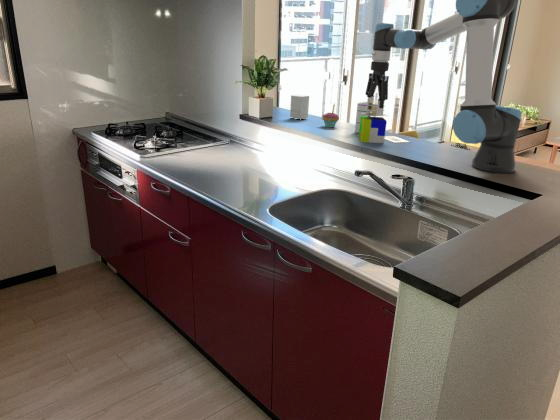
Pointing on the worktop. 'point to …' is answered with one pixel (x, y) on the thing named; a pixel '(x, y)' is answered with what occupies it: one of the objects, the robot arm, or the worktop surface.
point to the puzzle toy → (372, 129)
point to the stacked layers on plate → (372, 109)
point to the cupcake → (330, 118)
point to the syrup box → (360, 114)
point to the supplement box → (299, 106)
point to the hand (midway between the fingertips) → (374, 113)
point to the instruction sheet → (395, 139)
